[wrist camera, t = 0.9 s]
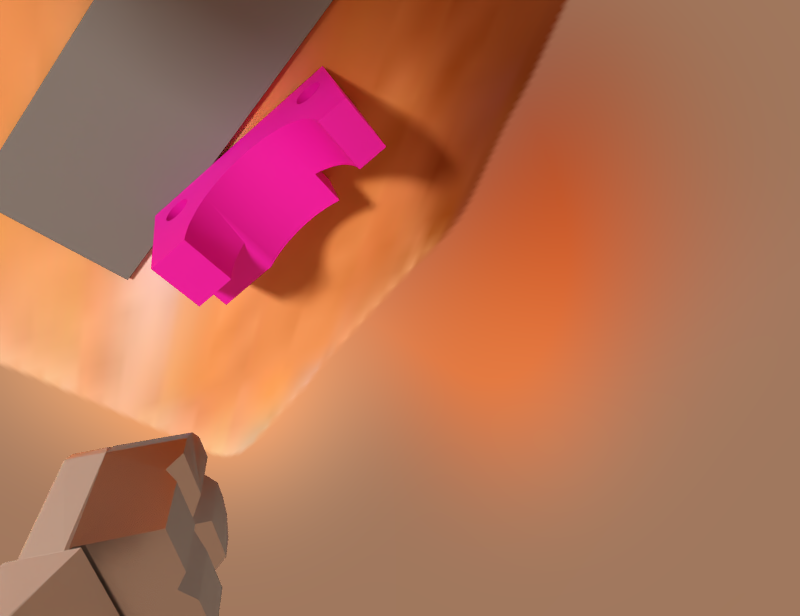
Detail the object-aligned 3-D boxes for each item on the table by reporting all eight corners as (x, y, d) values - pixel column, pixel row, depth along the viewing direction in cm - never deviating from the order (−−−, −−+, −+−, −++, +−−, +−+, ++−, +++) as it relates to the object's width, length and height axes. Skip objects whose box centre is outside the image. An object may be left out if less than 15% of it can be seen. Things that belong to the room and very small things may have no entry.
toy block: (222, 272, 48) (228, 329, 42) (155, 215, 45) (151, 268, 39) (380, 137, 46) (410, 176, 40) (322, 65, 43) (345, 97, 37)
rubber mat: (-28, 195, 42) (-29, 197, 42) (186, -148, 36) (185, -148, 35) (128, 277, 47) (127, 279, 47) (338, -9, 41) (338, -8, 41)
